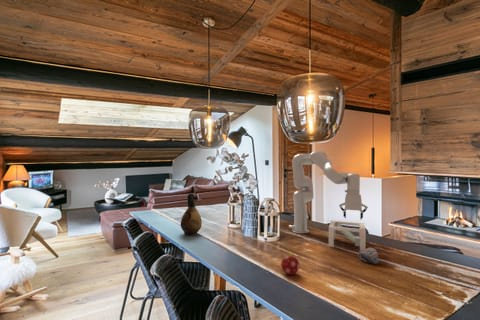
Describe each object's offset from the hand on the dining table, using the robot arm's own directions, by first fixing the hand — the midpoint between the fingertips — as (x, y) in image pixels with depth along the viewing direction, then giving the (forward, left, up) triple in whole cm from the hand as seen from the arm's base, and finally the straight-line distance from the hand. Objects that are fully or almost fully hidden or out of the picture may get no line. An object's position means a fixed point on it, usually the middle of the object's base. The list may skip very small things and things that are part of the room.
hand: (353, 218), depth 181 cm
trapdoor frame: (-3, 0, -17) cm, 17 cm away
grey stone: (+1, 0, -15) cm, 15 cm away
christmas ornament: (-28, -62, -17) cm, 70 cm away
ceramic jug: (-111, -19, -17) cm, 114 cm away
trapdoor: (-5, 0, -10) cm, 11 cm away
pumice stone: (+8, -29, -17) cm, 35 cm away
